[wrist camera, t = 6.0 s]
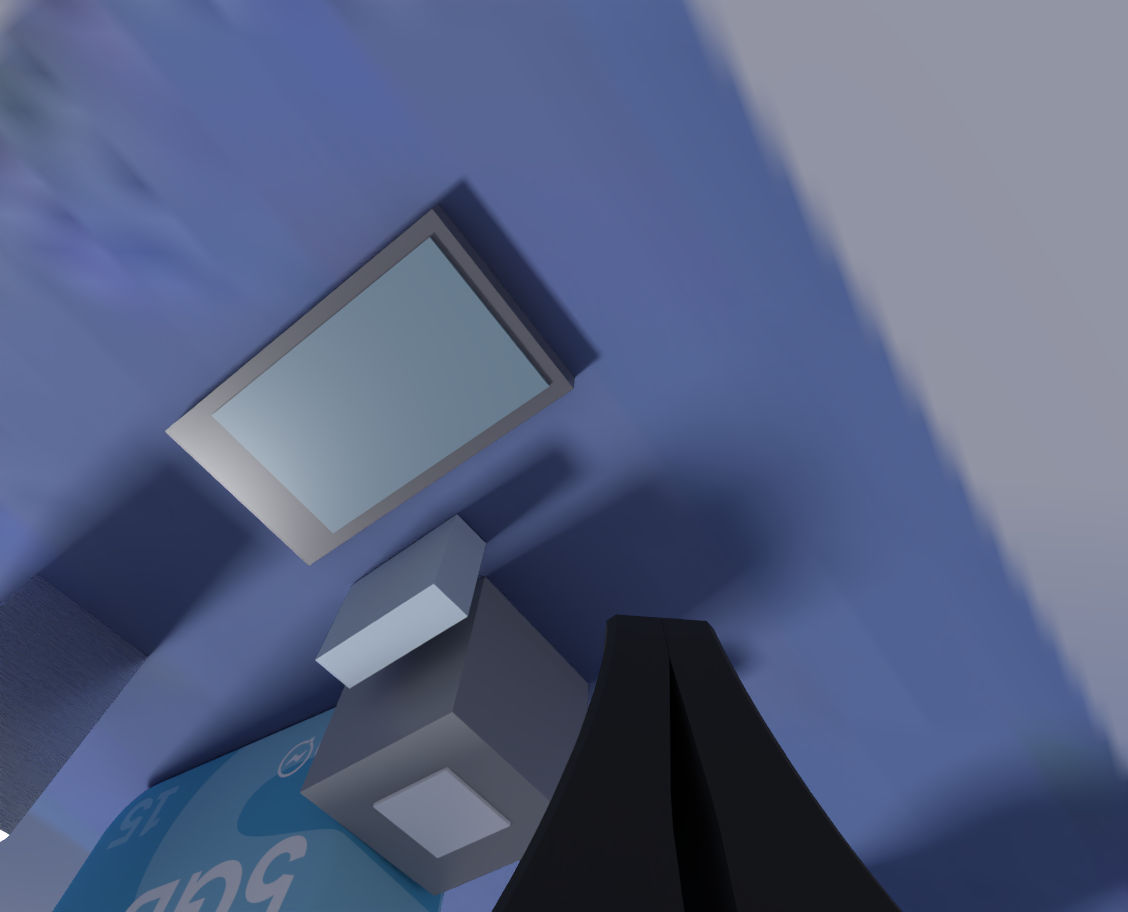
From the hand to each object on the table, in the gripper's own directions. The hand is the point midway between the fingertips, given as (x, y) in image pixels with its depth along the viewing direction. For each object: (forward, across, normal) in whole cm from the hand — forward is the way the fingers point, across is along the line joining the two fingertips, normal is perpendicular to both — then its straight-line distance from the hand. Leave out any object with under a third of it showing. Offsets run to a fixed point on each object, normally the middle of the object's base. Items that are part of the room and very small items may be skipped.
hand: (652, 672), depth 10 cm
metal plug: (+9, +17, +10) cm, 21 cm away
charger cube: (+9, +4, +9) cm, 13 cm away
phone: (+10, +6, 0) cm, 12 cm away
